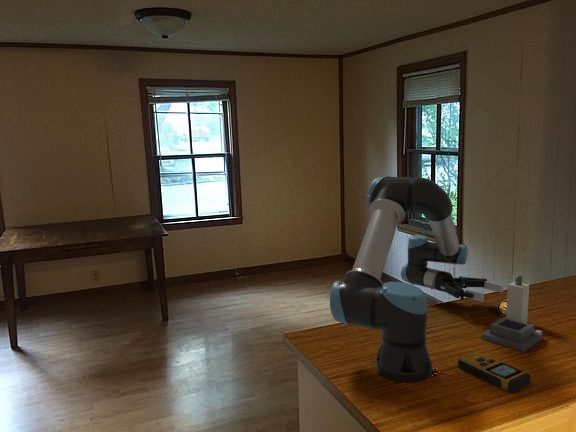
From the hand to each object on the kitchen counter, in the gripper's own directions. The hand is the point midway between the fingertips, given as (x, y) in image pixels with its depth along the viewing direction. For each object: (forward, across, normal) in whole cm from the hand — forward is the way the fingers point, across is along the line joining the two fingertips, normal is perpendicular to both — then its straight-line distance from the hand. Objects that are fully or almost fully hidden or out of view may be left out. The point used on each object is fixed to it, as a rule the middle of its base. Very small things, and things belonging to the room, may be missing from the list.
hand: (493, 293), depth 168 cm
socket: (+14, +14, -8) cm, 21 cm away
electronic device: (+20, +40, -9) cm, 46 cm away
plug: (+8, 0, -8) cm, 12 cm away
